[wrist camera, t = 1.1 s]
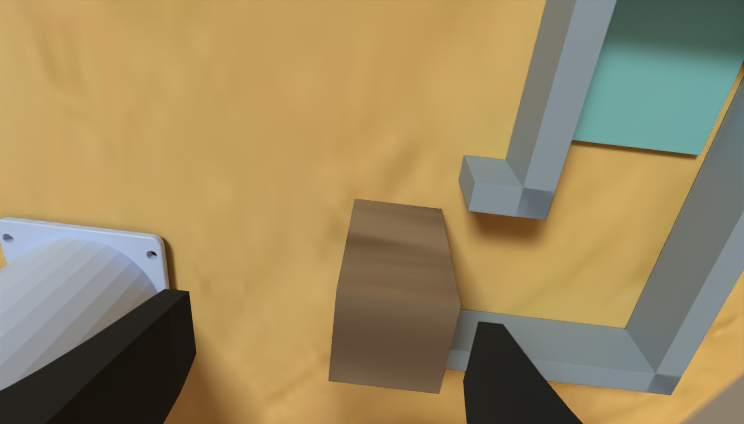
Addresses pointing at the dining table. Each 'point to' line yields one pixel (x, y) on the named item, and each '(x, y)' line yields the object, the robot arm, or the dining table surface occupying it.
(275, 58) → the dining table surface
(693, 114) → the pad
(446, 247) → the block
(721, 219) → the grey open rectangular frame
